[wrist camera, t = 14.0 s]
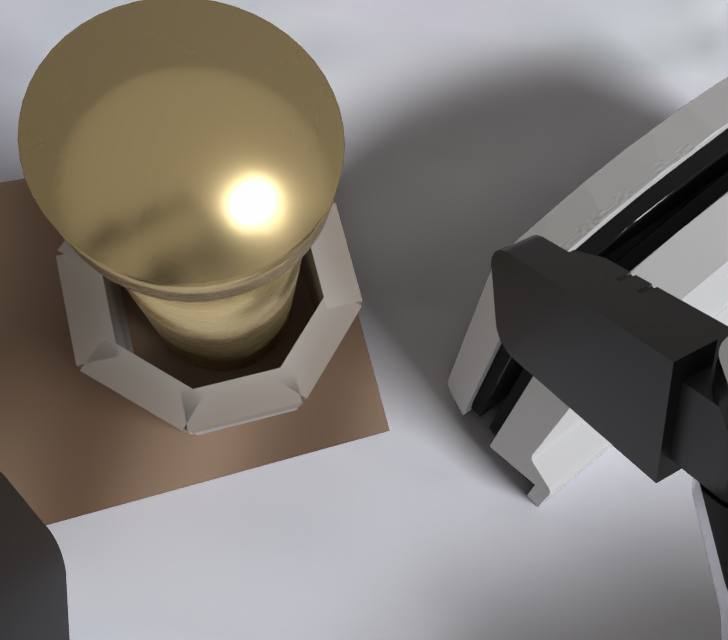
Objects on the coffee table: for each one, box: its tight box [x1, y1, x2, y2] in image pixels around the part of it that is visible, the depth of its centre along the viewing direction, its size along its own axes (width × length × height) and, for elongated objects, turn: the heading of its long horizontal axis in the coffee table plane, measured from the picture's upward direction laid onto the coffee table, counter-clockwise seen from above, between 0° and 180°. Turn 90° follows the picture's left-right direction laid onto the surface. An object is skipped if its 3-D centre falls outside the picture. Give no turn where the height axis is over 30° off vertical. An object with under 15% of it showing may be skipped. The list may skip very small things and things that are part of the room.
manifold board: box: [0, 179, 390, 525], centre depth 17 cm, size 17×10×4 cm, turn 105°
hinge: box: [447, 77, 728, 507], centre depth 19 cm, size 17×5×10 cm, turn 125°
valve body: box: [18, 0, 345, 371], centre depth 14 cm, size 5×5×10 cm
